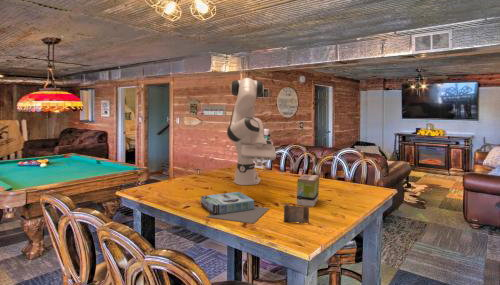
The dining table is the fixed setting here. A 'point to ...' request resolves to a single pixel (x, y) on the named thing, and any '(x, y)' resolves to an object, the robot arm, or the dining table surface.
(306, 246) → the dining table surface
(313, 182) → the tea box
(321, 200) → the dining table surface
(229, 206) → the gum box
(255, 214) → the mat
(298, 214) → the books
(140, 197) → the dining table surface
